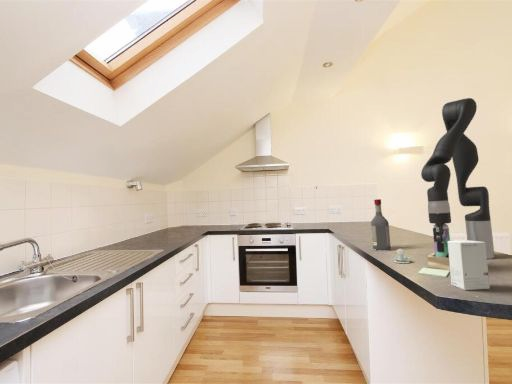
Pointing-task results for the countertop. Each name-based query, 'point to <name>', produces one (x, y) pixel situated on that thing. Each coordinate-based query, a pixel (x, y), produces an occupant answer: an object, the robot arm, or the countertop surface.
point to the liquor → (380, 229)
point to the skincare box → (468, 264)
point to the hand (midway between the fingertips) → (442, 250)
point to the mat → (434, 272)
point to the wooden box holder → (438, 262)
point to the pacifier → (401, 257)
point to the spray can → (447, 238)
